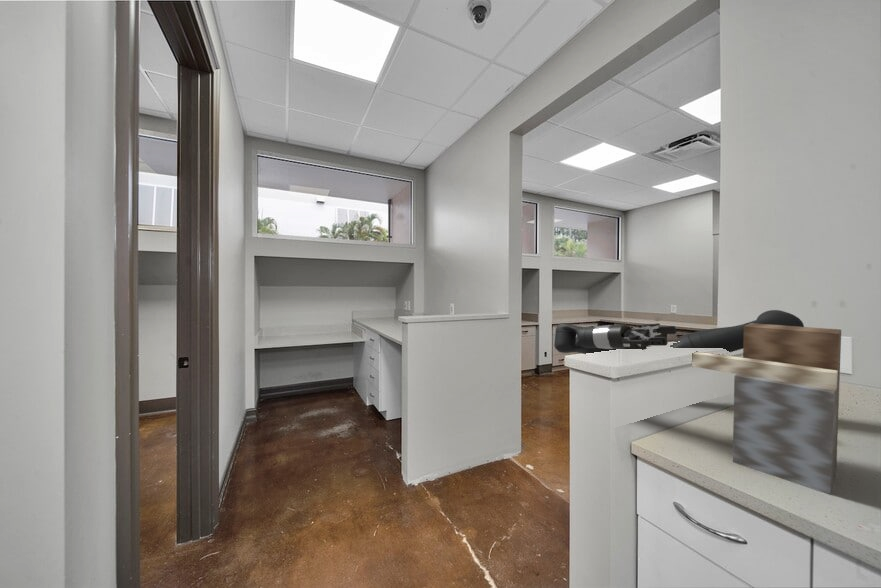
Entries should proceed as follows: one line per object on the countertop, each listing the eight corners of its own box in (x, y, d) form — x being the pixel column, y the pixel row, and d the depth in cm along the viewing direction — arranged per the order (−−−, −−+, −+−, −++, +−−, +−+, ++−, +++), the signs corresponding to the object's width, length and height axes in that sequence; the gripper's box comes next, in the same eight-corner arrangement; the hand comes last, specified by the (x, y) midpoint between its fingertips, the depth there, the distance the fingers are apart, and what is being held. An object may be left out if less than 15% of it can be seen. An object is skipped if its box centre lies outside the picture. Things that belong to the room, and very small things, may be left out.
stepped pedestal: (732, 461, 77) (735, 329, 76) (748, 440, 87) (751, 323, 85) (830, 494, 65) (835, 338, 64) (836, 466, 75) (841, 329, 73)
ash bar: (692, 366, 85) (692, 353, 85) (696, 364, 87) (696, 351, 87) (835, 390, 66) (836, 373, 65) (837, 386, 68) (837, 370, 68)
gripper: (623, 339, 107) (681, 338, 94) (605, 357, 98) (666, 358, 86) (617, 318, 107) (675, 314, 94) (599, 334, 98) (659, 332, 85)
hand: (671, 335), depth 90 cm, fingers open, 8 cm apart
